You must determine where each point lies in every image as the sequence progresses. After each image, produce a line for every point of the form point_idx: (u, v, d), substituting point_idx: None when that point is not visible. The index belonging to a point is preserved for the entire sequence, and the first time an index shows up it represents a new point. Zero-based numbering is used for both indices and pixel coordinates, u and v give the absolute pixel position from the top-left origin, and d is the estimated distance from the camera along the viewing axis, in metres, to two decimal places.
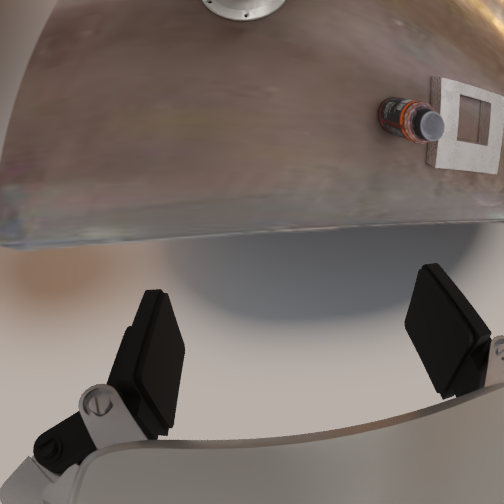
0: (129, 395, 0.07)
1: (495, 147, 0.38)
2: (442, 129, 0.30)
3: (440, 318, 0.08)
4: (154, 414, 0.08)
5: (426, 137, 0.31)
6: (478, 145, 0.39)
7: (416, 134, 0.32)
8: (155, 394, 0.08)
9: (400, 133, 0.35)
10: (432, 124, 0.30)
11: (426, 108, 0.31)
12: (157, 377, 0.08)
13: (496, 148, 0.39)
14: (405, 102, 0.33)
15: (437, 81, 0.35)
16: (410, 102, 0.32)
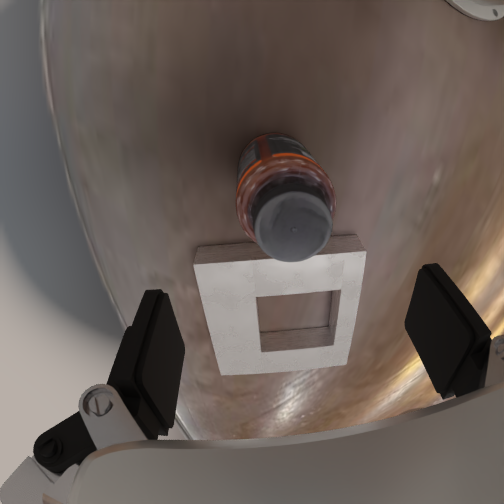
0: (129, 395, 0.07)
1: (262, 364, 0.33)
2: (290, 257, 0.16)
3: (440, 318, 0.08)
4: (154, 414, 0.08)
5: (261, 215, 0.15)
6: (257, 337, 0.31)
7: (261, 193, 0.16)
8: (155, 394, 0.08)
9: (248, 164, 0.18)
10: (300, 228, 0.15)
11: None
12: (157, 377, 0.08)
13: (261, 366, 0.33)
14: None
15: (354, 245, 0.26)
16: None
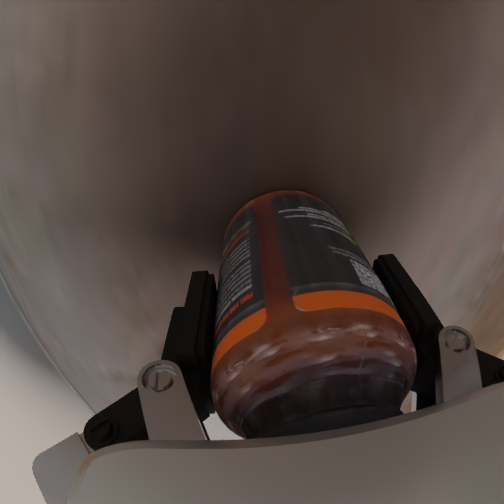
0: (187, 370, 0.08)
1: None
2: None
3: None
4: (207, 390, 0.08)
5: None
6: None
7: (265, 411, 0.06)
8: (210, 369, 0.08)
9: (235, 295, 0.08)
10: None
11: (398, 409, 0.07)
12: (211, 353, 0.09)
13: None
14: (387, 296, 0.08)
15: None
16: None
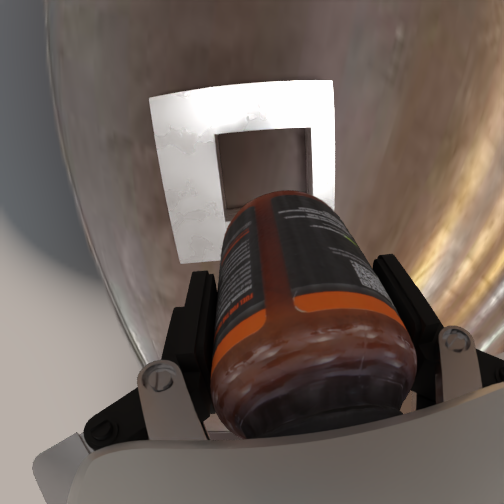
0: (187, 370, 0.08)
1: None
2: None
3: None
4: (207, 390, 0.08)
5: None
6: (219, 196, 0.26)
7: (265, 412, 0.06)
8: (210, 369, 0.08)
9: (235, 296, 0.08)
10: None
11: (398, 410, 0.07)
12: (211, 353, 0.09)
13: None
14: (387, 297, 0.08)
15: None
16: None
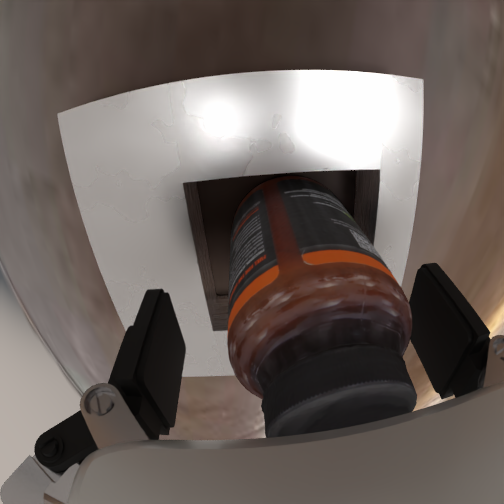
0: (130, 394, 0.07)
1: (220, 358, 0.17)
2: None
3: (439, 318, 0.08)
4: (155, 413, 0.08)
5: (284, 423, 0.06)
6: (200, 294, 0.14)
7: (280, 354, 0.07)
8: (156, 393, 0.08)
9: (249, 260, 0.10)
10: None
11: None
12: (158, 376, 0.08)
13: (219, 361, 0.17)
14: None
15: None
16: None
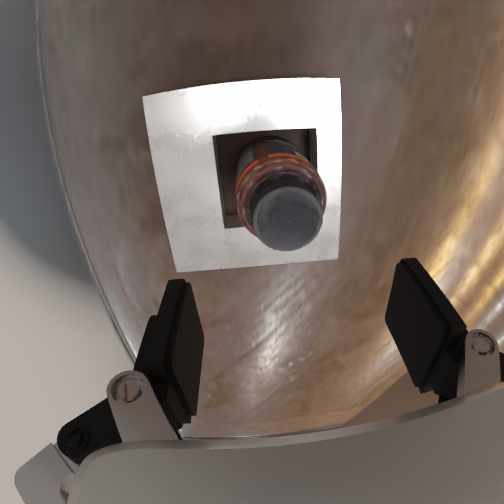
0: (157, 381, 0.07)
1: (228, 252, 0.27)
2: (285, 246, 0.17)
3: (416, 311, 0.09)
4: (180, 401, 0.08)
5: (259, 207, 0.16)
6: (218, 201, 0.25)
7: (258, 189, 0.17)
8: (182, 380, 0.08)
9: (246, 163, 0.20)
10: (293, 219, 0.17)
11: None
12: (183, 363, 0.08)
13: (227, 254, 0.27)
14: None
15: None
16: None
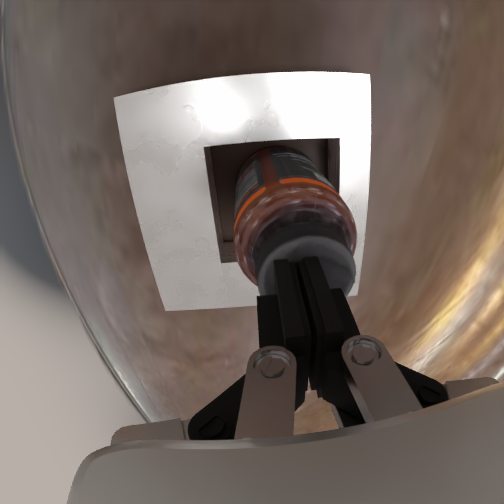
0: (292, 354, 0.08)
1: (226, 290, 0.22)
2: None
3: (306, 311, 0.10)
4: None
5: (267, 265, 0.11)
6: (212, 231, 0.20)
7: (265, 232, 0.12)
8: None
9: (248, 189, 0.15)
10: None
11: None
12: None
13: (224, 292, 0.22)
14: None
15: None
16: None
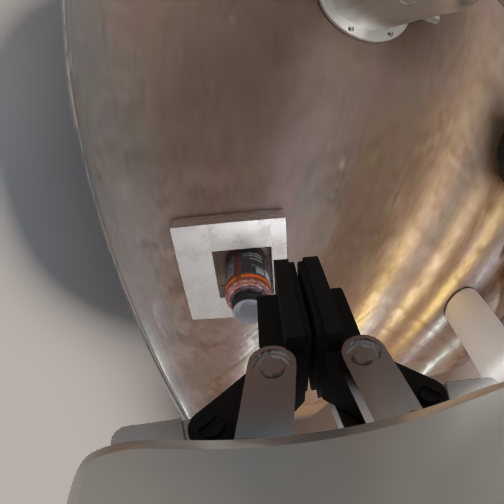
0: (292, 354, 0.08)
1: (222, 309, 0.46)
2: (248, 322, 0.37)
3: (306, 311, 0.10)
4: None
5: (235, 307, 0.35)
6: (216, 284, 0.44)
7: (235, 295, 0.37)
8: None
9: (230, 275, 0.39)
10: (251, 311, 0.36)
11: None
12: None
13: (222, 310, 0.46)
14: (265, 275, 0.39)
15: (278, 214, 0.40)
16: (267, 281, 0.38)
